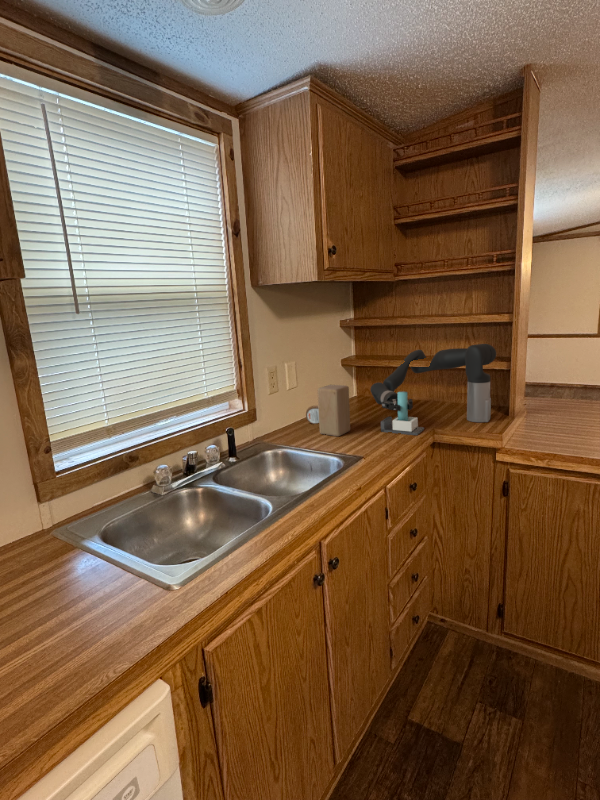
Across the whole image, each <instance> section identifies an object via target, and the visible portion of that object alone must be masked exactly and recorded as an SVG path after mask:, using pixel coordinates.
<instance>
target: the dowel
mask: <svg viewBox="0 0 600 800" xmlns="http://www.w3.org/2000/svg"><path fill="white" fill-rule="evenodd" d="M397 394H398V405H400V406H401V411H398V410H397V417H398V420H400V421H408V417H409V414H408V413H409V412H408V411H409V410H408V400H409V399H408V391H398V392H397Z"/></svg>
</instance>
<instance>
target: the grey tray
mask: <svg viewBox="0 0 600 800" xmlns="http://www.w3.org/2000/svg"><path fill="white" fill-rule="evenodd" d="M424 430H425V427H422V426H418V427H417V428H415V429H414V430H413V431H412V432H410V431H400V430H393V417H392V416H386V418H384V419H382V420H381V421H380V432H381V433H388V432H392V433H391V434H398V433H401V435H408V436H410V435H411V436H418V435H420V434H421V433H422V432H423V431H424Z"/></svg>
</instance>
